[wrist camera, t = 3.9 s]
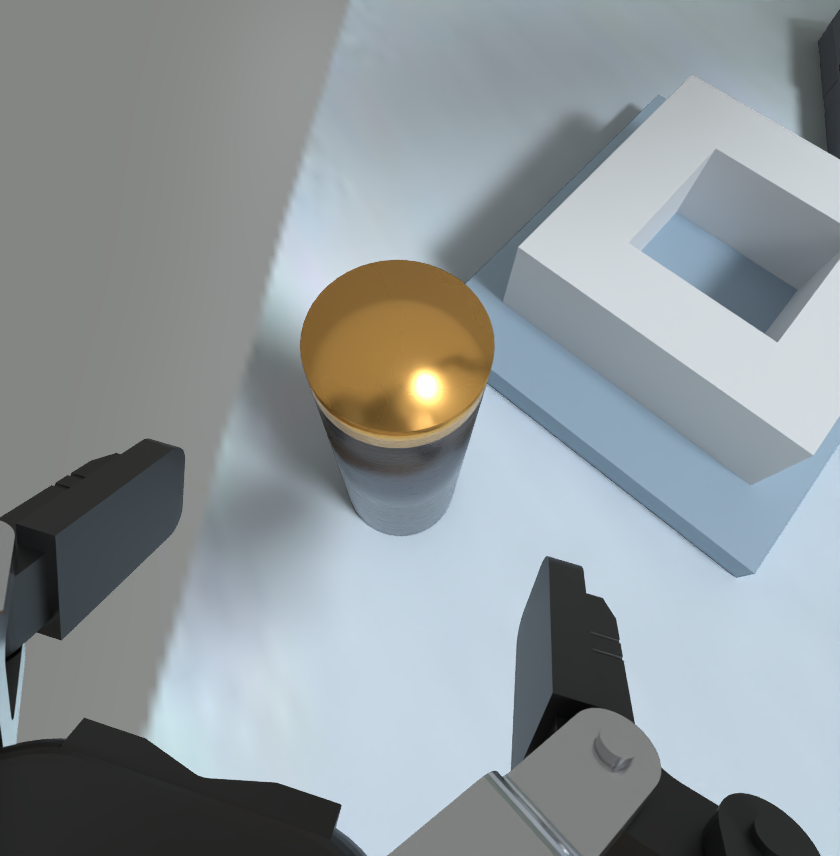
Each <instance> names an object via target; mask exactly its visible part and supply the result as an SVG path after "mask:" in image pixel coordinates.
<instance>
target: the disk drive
mask: <svg viewBox="0 0 840 856" xmlns="http://www.w3.org/2000/svg"><path fill="white" fill-rule="evenodd" d="M818 45H819V53H820V60H821V61H820V67H821V80H822V91H823V99H824V107H825V126H826V136H827V147H828V153H829V154H831V155H833V156H835V157H836V158H838V159H840V10H839V11H838V13H837V14H836V16H835V17H834V19H833V20H832V21H831V23H830V24H829V26H828V27H827V29H826V31H825V32H824V34H823V35H822V37H821V38H820V40H819V41H818Z"/></svg>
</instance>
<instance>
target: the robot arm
mask: <svg viewBox="0 0 840 856" xmlns="http://www.w3.org/2000/svg"><path fill="white" fill-rule="evenodd" d="M184 468H185V454H184V451H183V450H182V449H181V448H179V447H176V446H172V445H169V444H165V443H162V442H159V441H155V440H152V439H144V440H143V441H141V442H139V443H138V444H136V445H135V446H133V447H132V448H130V449H128V450H127V451H125V452H124V453H122V454H118V453H115V454H112V455H108V456H105V457H102V458H99V459H95V460H92V461H90V462H88V463H87V464H85V465H84V466H82V467H80V468H79V469H77V470H75V471H74V472H72V473H71V476H68V475H67V476H66V477H64V478H63V479H61V480H59V481H58V482H56V484H55V486H52V485H51V486H50V487H48V488H47V489H45V490H43V491H42V492H40V493H39V494H37V495H36V496H34V497H32V498H31V499H29V500H27V501H26V502H24V503H23V504H21V505H20V506H18V507H16V508H15V509H13V510H11V511H10V512H8V513H7V514H5V515H3V516H2V517H0V856H367V855H366V854H365V853H364V852H363V851H362V849H361V848H360V847H358V846H357V845H356V844H355V843H354V842H353V841H352V840H351V839H350V838H349V837H347V836H346V835H345V834H343V833H342V832H341V831H339V830H338V829H336V825H337V821H338V817H339V813H340V809H341V804H338V803H335V802H332V801H329V800H326V799H323V798H320V797H317V796H314V795H312V794H309V793H306V792H303V791H300V790H297V789H294V788H291V787H288V786H285V785H282V784H279V783H273V782H258V781H242V780H227V779H211V778H203V777H200V776H198V775H196V774H195V773H193V772H192V771H190V770H189V769H188V768H186V767H185V766H183V765H182V764H181V763H179V762H178V761H176V760H175V759H174V758H172V757H171V756H169V755H168V754H167V753H165V752H164V751H162V750H161V749H160V748H158V747H157V746H155V745H154V744H153V743H151V742H150V741H148V740H147V739H145V738H142V737H139V736H136V735H134V734H130V733H127V732H125V731H122V730H119V729H116V728H112V727H110V726H107V725H104V724H101V723H98V722H95V721H92V720H89V719H86V718H84V719H83V720H82V721H81V722H80V723H79V725H78V726H77V727H76V728H75V729H74V730H73V732H72V733H71V734H70V735H69V736H68V737H67V739H62V738H61V739H60V738H59V739H41V740H34V741H27V742H22V743H18V744H16V740H17V729H18V720H19V711H20V702H21V693H22V683H23V674H24V665H25V656H26V650H25V642H26V641H27V640H28V639H29V638H31V637H32V636H33V635H34V634H35V633H36V632H37V633H41V634H43V635H46V636H49V637H53V638H56V639H59V640H62V639H63V638H64V637H65V636H66V635H67V634H68V633H70V631H72V630H73V629H74V628H75V627H76V626H77V625H78V624H79V623H80V622H81V621H82V620H83V619H84V618H85V617H86V616H87V615H88V614H89V613H90V612H91V611H92V610H93V609H94V608H95V607H97V606H98V605H99V604H100V603H101V602H102V601H103V600H104V599H105V598H106V597H107V596H108V595H109V594H110V593H111V592H112V591H113V590H114V589H115V588H116V587H117V586H118V585H119V584H120V583H121V582H122V581H123V580H125V579H126V578H127V577H128V576H129V575H130V574H131V573H132V572H133V571H134V570H135V569H136V568H137V567H138V566H139V565H140V564H141V563H142V562H143V561H144V560H145V559H146V558H147V557H148V556H149V555H151V554H152V553H153V551H155V550H156V548H158V547H159V546H160V545H161V544H162V543H163V542H164V541H165V540H166V539H167V538H168V537H169V536H170V535H171V534H172V533H173V531H174V530H175V528H176V526H177V524H178V522H179V519H180V516H181V512H182V505H183V487H184ZM619 640H620V638H619V633H618V627H617V622H616V618H615V617H614V615H613V613H612V612H611V610H610V609H609V607H608V606H607V604H606V603H605V601H604V600H603V598H600V597H597V596H594V595H590V594H587V593H586V588H585V580H584V571H583V568H582V566H579V565H576V564H572V563H569V562H565V561H562V560H558V559H555V558H552V557H548V556H546V557H545V559H544V560H543V562H542V565H541V567H540V570H539V572H538V575H537V578H536V580H535V583H534V586H533V588H532V591H531V594H530V596H529V599H528V601H527V604H526V607H525V609H524V612H523V615H522V618H521V622H520V626H519V631H518V637H517V649H516V671H515V693H514V715H513V737H512V759H511V771H510V772H509V773H508V774H506V775H505V776H503V777H502V776H501V775H500V774H499V773H498V772H497V771H492V772H490V773H488V774H486V775H485V776H483V777H482V778H481V779H479V780H478V781H477V782H476V783H474V784H473V785H472V786H471V787H470V788H468V789H467V790H466V791H465V792H464V793H462V794H461V795H460V796H459V797H458V798H456V799H455V800H454V801H453V802H452V803H450V804H449V805H448V806H447V807H446V808H444V809H443V810H442V811H441V812H440V813H438V814H437V815H436V816H435V817H433V818H432V819H431V820H430V821H429V822H427V823H426V824H425V825H424V826H423V827H421V828H420V829H419V830H418V831H417V832H415V833H414V834H413V835H412V836H411V837H409V838H408V839H407V840H406V841H405V842H403V843H402V844H401V845H400V846H399V847H397V848H396V849H395V850H394V851H393V852H391V853H390V854H389V855H388V856H820V854H819V852H818V850H817V848H816V847H815V845H814V844H813V842H812V841H811V839H810V838H809V837H808V835H807V834H806V833H805V832H804V831H803V829H802V828H801V827H800V826H799V825H798V824H797V823H796V822H795V821H794V820H793V819H792V818H791V817H789V816H788V815H787V814H786V813H785V812H783V811H782V810H781V809H779V808H778V807H776V806H775V805H773V804H771V803H770V802H768V801H766V800H764V799H762V798H759V797H757V796H754V795H750V794H745V793H734V794H731V795H729V796H727V797H726V798H724V799H723V801H722V802H721V804H720V805H719V806H718V805H716V804H715V803H713V802H712V801H710V800H708V799H707V798H705V797H703V796H702V795H700V794H698V793H697V792H695V791H693V790H692V789H690V788H689V787H687V786H685V785H684V784H682V783H680V782H679V781H677V780H676V779H675V778H673V777H672V776H671V775H669V774H668V773H667V772H666V771H664V770H663V769H662V768H661V764H660V759H659V756H658V753H657V751H656V749H655V747H654V745H653V744H652V742H651V741H650V740H649V738H648V737H647V736H646V735H645V733H644V732H643V731H642V730H641V729H640V728H639V727H638V726H636V725H635V722H634V717H633V711H632V705H631V700H630V694H629V689H628V683H627V678H626V672H625V666H624V661H623V660H622V657H623V655H622V650H621V644H620V643H619Z"/></svg>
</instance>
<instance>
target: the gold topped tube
mask: <svg viewBox="0 0 840 856" xmlns="http://www.w3.org/2000/svg"><path fill="white" fill-rule="evenodd" d="M494 350H495V343H494V333H493V328H492V324H491V321H490V318H489V316H488V313H487V312H486V310H485V308H484V306H483V304H482V303H481V301H480V300H479V298H478V297H477V296H476V295H475V294H474V292H473V291H472V290H471V289H470V288H469V287H468V286H467V285H465V284H464V283H463V282H462V281H461V280H459V279H458V278H456V277H455V276H453V275H452V274H450V273H448V272H446V271H444V270H442V269H440V268H437V267H434V266H432V265H429V264H425V263H421V262H416V261H408V260H388V261H379V262H375V263H370V264H367V265H363V266H360V267H358V268H355V269H353V270H351V271H349V272H347V273H345V274H344V275H342V276H340V277H339V278H337V279H336V280H335V281H333V282H332V283H331V284H329V285H328V286H327V287H326V288H325V289H324V290H323V291H322V292H321V293H320V294H319V296H318V297H317V298H316V300H315V301H314V302H313V304H312V306H311V308H310V309H309V311H308V313H307V316H306V318H305V321H304V323H303V328H302V332H301V340H300V351H301V359H302V364H303V368H304V371H305V374H306V377H307V379H308V382H309V385H310V388H311V390H312V393H313V396H314V399H315V402H316V404H317V407H318V410H319V413H320V415H321V418H322V421H323V424H324V427H325V429H326V432H327V435H328V438H329V440H330V443H331V446H332V449H333V452H334V454H335V457H336V460H337V463H338V466H339V468H340V471H341V474H342V477H343V479H344V482H345V485H346V488H347V491H348V493H349V496H350V499H351V502H352V504H353V507H354V508H355V510H356V512H357V513H358V515H359V516H360V518H361V519H362V520H363V521H364V522H365V523H367V524H368V525H369V526H370V527H372V528H374V529H375V530H377V531H380V532H382V533H385V534H388V535H394V536H408V535H413V534H417V533H420V532H422V531H425V530H426V529H428V528H430V527H431V526H433V525H434V524H435V523H437V522H438V521H439V520H440V519H441V517H442V516H443V515H444V514H445V512H446V510H447V509H448V507H449V504H450V502H451V499H452V496H453V493H454V489H455V486H456V483H457V479H458V476H459V473H460V470H461V466H462V463H463V460H464V456H465V453H466V450H467V447H468V443H469V440H470V437H471V433H472V430H473V427H474V424H475V420H476V417H477V414H478V410H479V407H480V404H481V401H482V397H483V394H484V391H485V387H486V384H487V381H488V378H489V374H490V371H491V367H492V363H493V359H494Z"/></svg>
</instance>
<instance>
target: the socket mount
mask: <svg viewBox="0 0 840 856" xmlns="http://www.w3.org/2000/svg"><path fill="white" fill-rule="evenodd" d="M465 285H467V286H468V287H469V288H470V289H471V290H472V291H473V292H474V294H475V295H476V296H477V297H478V298H479V300H480V301H481V303H482V304H483V306H484V308H485V310H486V312H487V313H488V316H489V318H490V321H491V324H492V328H493V333H494V343H495V350H494V359H493V363H492V367H491V371H490V374H489V378H488V381H487V383H488V384H489V385H491V386H492V387H493V388H495V389H496V390H497V391H498V392H500V393H501V394H502V395H504V396H505V397H506V398H507V399H509V400H510V401H511V402H512V403H514V404H515V405H516V406H518V407H519V408H520V409H521V410H523V411H524V412H525V413H527V414H528V415H529V416H530V417H532V418H533V419H534V420H535V421H537V422H538V423H539V424H541V425H542V426H543V427H544V428H546V429H547V430H548V431H550V432H551V433H552V434H553V435H555V436H556V437H557V438H558V439H560V440H561V441H562V442H564V443H565V444H566V445H567V446H569V447H570V448H571V449H573V450H574V451H575V452H576V453H578V454H579V455H580V456H582V457H583V458H584V459H585V460H587V461H588V462H589V463H590V464H592V465H593V466H594V467H596V468H597V469H598V470H599V471H601V472H602V473H603V474H605V475H606V476H607V477H608V478H610V479H611V480H612V481H613V482H615V483H616V484H617V485H619V486H620V487H621V488H622V489H624V490H625V491H626V492H628V493H629V494H630V495H631V496H633V497H634V498H635V499H636V500H638V501H639V502H640V503H642V504H643V505H644V506H645V507H647V508H648V509H649V510H651V511H652V512H653V513H654V514H656V515H657V516H658V517H659V518H661V519H662V520H663V521H665V522H666V523H667V524H668V525H670V526H671V527H672V528H674V529H675V530H676V531H677V532H679V533H680V534H681V535H682V536H684V537H685V538H686V539H688V540H689V541H690V542H691V543H693V544H694V545H695V546H697V547H698V548H699V549H700V550H702V551H703V552H704V553H706V554H707V555H708V556H709V557H711V558H712V559H713V560H714V561H716V562H717V563H718V564H720V565H721V566H722V567H723V568H725V569H726V570H727V571H729V572H730V573H731V574H732V575H734V576H735V577H736V578H738V577H742V576H747V575H751V574H755V573H756V571H757V570H758V568H759V567H760V565H761V563H762V562H763V560H764V559H765V557H766V556H767V554H768V553H769V551H770V550H771V548H772V547H773V545H774V544H775V542H776V540H777V539H778V537H779V536H780V534H781V533H782V531H783V530H784V528H785V527H786V525H787V524H788V522H789V520H790V519H791V517H792V516H793V514H794V513H795V511H796V510H797V508H798V507H799V505H800V504H801V502H802V501H803V499H804V497H805V496H806V494H807V493H808V491H809V490H810V488H811V487H812V485H813V484H814V482H815V481H816V479H817V477H818V476H819V474H820V473H821V471H822V470H823V468H824V467H825V465H826V464H827V462H828V461H829V459H830V458H831V456H832V454H833V453H834V451H835V450H836V448H837V447H838V445H839V444H840V159H838V158H836V157H835V156H833V155H831V154H829V153H828V152H826V151H824V150H822V149H821V148H819V147H817V146H816V145H814V144H812V143H810V142H809V141H807V140H805V139H803V138H802V137H800V136H798V135H796V134H795V133H793V132H791V131H789V130H788V129H786V128H784V127H783V126H781V125H779V124H777V123H776V122H774V121H772V120H770V119H769V118H767V117H765V116H763V115H762V114H760V113H758V112H757V111H755V110H753V109H751V108H750V107H748V106H746V105H744V104H743V103H741V102H739V101H737V100H736V99H734V98H732V97H730V96H729V95H727V94H725V93H724V92H722V91H720V90H718V89H717V88H715V87H713V86H711V85H710V84H708V83H706V82H704V81H703V80H701V79H699V78H697V77H696V76H694V75H691V76H690V77H689V78H688V79H687V80H686V81H685V82H684V83H683V84H682V85H681V86H680V87H679V88H678V89H677V90H676V91H675V92H674V93H673V94H672V95H671V96H670V97H669V98H668V99H665V98H664V97H662V96H660V95H658V96H657V97H656V98H655V99H654V100H653V101H652V102H651V103H650V104H648V105H647V106H646V107H645V108H644V109H643V110H642V111H641V112H640V113H639V114H638V115H637V116H636V117H635V118H634V119H633V120H632V121H631V122H630V123H629V124H628V125H627V126H626V127H625V128H624V129H623V130H622V131H621V132H620V133H619V134H618V135H617V136H616V137H615V138H614V139H613V140H612V141H611V142H610V143H609V144H608V145H607V146H606V147H605V148H604V149H603V150H602V151H601V152H599V153H598V154H597V155H596V156H595V157H594V158H593V159H592V160H591V161H590V162H589V163H588V164H587V165H586V166H585V167H584V168H583V169H582V170H581V171H580V172H579V173H578V174H577V175H576V176H575V177H574V178H573V179H572V180H571V181H570V182H569V183H568V184H567V185H566V186H565V187H564V188H563V189H562V190H561V191H560V192H559V193H558V194H557V195H556V196H555V197H554V198H553V199H552V200H551V201H549V202H548V203H547V204H546V205H545V206H544V207H543V208H542V209H541V210H540V211H539V212H538V213H537V214H536V215H535V216H534V217H533V218H532V219H531V220H530V221H529V222H528V223H527V224H526V225H525V226H524V227H523V228H522V229H521V230H520V231H519V232H518V233H517V234H516V235H515V236H514V237H513V238H512V239H511V240H510V241H509V242H508V243H507V244H506V245H505V246H504V247H503V248H502V249H500V250H499V251H498V252H497V253H496V254H495V255H494V256H493V257H492V258H491V259H490V260H489V261H488V262H487V263H486V264H485V265H484V266H483V267H482V268H481V269H480V270H479V271H478V272H477V273H476V274H475V275H474V276H473V277H472V278H471V279H470V280H469V281H468V282H467V283H466V284H465Z"/></svg>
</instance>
